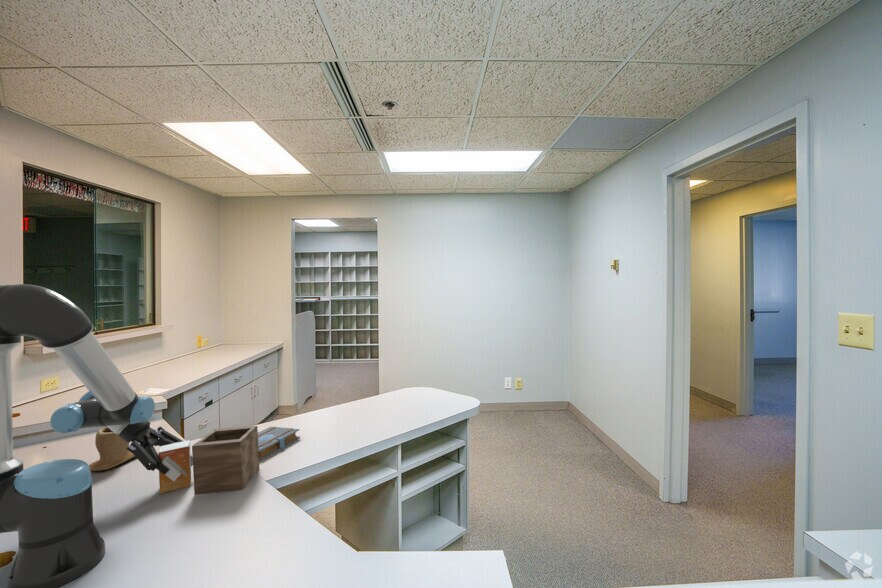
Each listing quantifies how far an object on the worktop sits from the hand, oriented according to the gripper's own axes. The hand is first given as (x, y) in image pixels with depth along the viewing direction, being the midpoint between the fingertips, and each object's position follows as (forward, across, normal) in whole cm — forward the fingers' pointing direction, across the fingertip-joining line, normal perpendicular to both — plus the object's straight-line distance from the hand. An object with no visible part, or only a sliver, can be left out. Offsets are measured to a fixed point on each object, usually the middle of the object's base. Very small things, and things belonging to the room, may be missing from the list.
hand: (186, 470), depth 118 cm
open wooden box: (+12, 0, +6) cm, 14 cm away
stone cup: (-22, -23, -29) cm, 43 cm away
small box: (+1, 0, -6) cm, 6 cm away
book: (+15, -26, +7) cm, 31 cm away
